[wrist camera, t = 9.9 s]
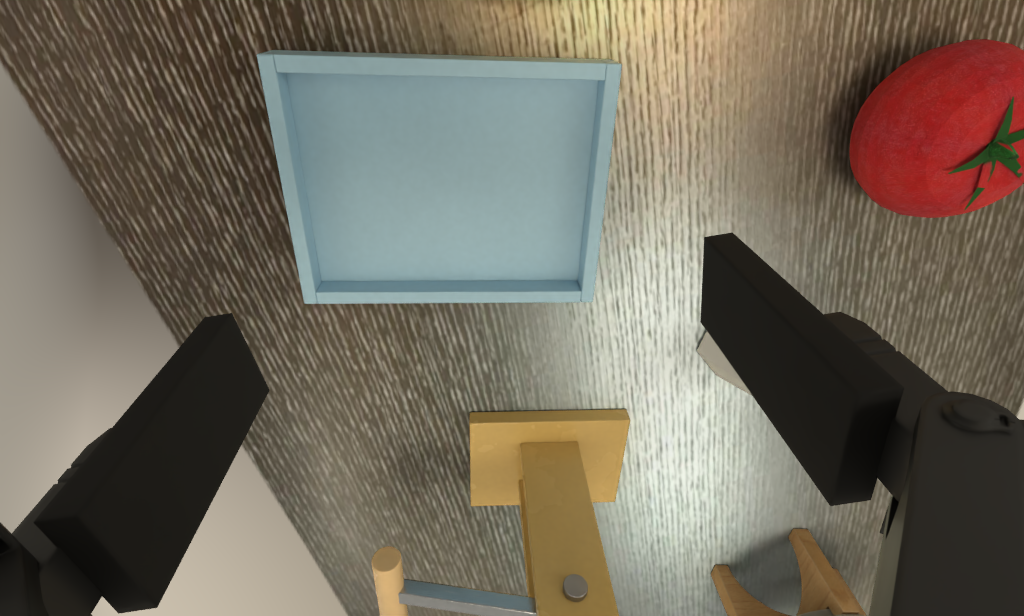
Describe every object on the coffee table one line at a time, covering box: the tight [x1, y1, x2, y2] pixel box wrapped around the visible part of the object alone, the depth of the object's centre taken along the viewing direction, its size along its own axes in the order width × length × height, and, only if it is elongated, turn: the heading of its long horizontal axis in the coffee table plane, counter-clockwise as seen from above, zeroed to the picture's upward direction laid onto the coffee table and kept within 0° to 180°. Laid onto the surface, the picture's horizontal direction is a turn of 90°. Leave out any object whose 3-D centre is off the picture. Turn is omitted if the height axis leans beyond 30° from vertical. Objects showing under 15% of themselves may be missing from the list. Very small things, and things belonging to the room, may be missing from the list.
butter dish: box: [257, 50, 622, 304], centre depth 30 cm, size 18×14×2 cm
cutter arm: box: [372, 546, 537, 616], centre depth 32 cm, size 13×6×2 cm, turn 88°
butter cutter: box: [470, 409, 630, 616], centre depth 36 cm, size 12×9×15 cm
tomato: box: [849, 39, 1024, 218], centre depth 27 cm, size 9×9×8 cm
